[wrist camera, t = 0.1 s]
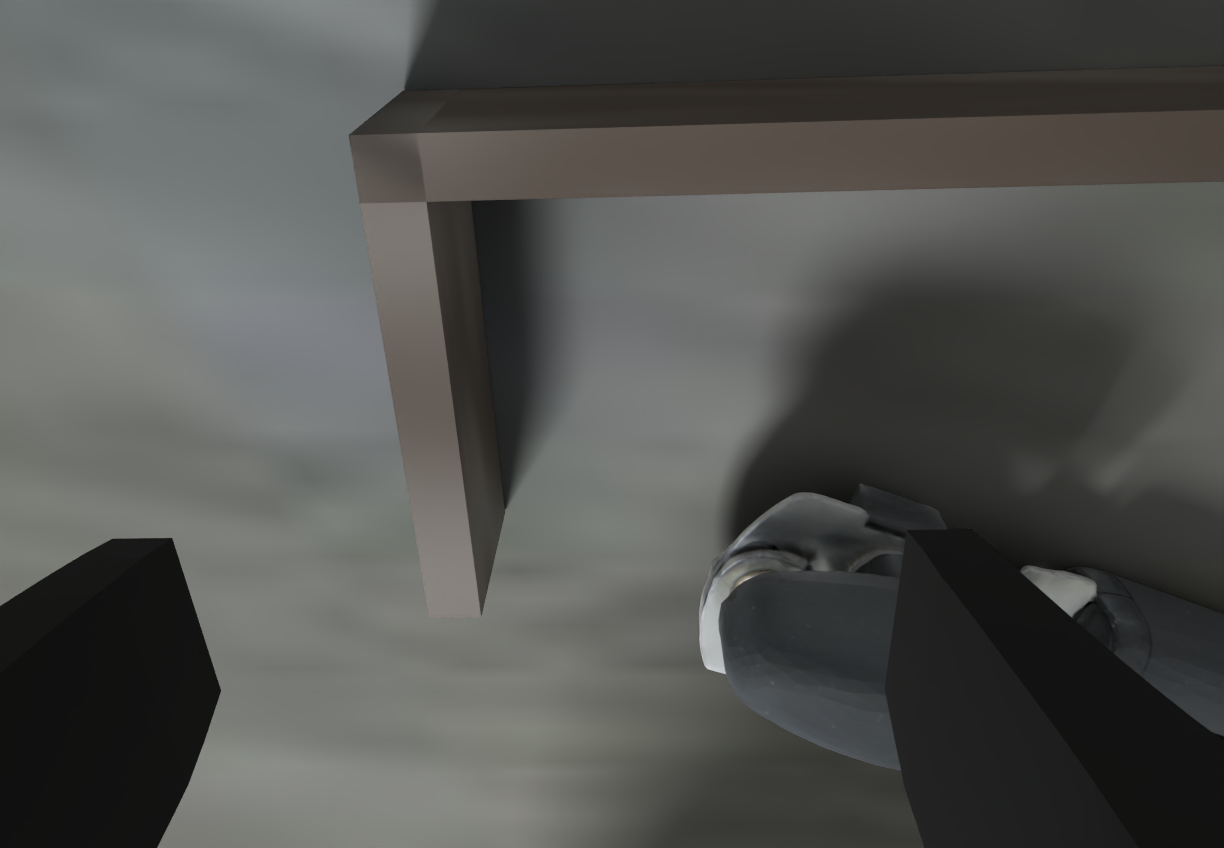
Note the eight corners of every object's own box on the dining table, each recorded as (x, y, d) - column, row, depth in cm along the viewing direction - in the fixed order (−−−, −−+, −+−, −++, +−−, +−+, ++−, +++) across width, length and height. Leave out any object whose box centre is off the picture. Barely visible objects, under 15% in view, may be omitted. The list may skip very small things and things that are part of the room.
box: (1787, 498, 20) (1993, 607, 17) (460, 512, 21) (428, 617, 18) (2099, 37, 16) (2455, 73, 12) (402, 90, 17) (348, 135, 14)
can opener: (656, 594, 22) (659, 825, 17) (746, 419, 20) (785, 622, 15) (1321, 806, 25) (1511, 1064, 20) (1469, 675, 23) (1732, 927, 17)
